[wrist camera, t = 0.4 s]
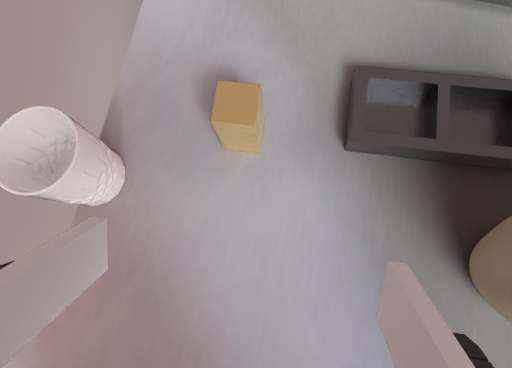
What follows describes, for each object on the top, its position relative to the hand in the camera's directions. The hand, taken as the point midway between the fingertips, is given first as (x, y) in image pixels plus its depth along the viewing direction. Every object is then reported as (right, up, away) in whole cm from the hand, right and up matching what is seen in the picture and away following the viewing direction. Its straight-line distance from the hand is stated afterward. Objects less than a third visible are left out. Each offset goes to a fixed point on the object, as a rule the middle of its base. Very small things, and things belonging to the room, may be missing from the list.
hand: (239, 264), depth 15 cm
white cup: (-17, +5, +22) cm, 29 cm away
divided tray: (+20, +10, +21) cm, 30 cm away
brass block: (0, +9, +22) cm, 24 cm away
